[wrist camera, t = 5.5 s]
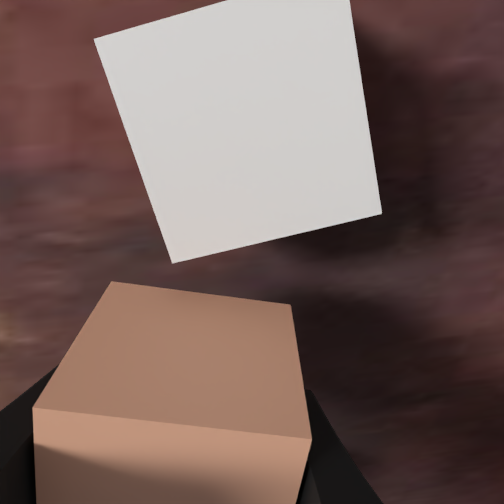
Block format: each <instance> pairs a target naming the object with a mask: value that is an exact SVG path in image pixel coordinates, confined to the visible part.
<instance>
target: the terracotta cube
mask: <svg viewBox="0 0 504 504" xmlns="http://www.w3.org/2000/svg"><path fill="white" fill-rule="evenodd" d="M32 409H33V433H34V457H35V480H36V504H296V500H297V496H298V492H299V488H300V484H301V480H302V477H303V473H304V469H305V465H306V461H307V457H308V453H309V449H310V445H311V442H312V436H311V430H310V423H309V417H308V411H307V404H306V398H305V392H304V386H303V379H302V373H301V367H300V361H299V354H298V348H297V342H296V335H295V329H294V323H293V317H292V310H291V305H289V304H281V303H273V302H266V301H258V300H250V299H243V298H235V297H227V296H220V295H212V294H204V293H196V292H189V291H181V290H173V289H166V288H158V287H150V286H143V285H135V284H127V283H120V282H112V281H111V283H110V284H109V286H108V288H107V289H106V291H105V292H104V294H103V296H102V297H101V299H100V300H99V302H98V304H97V305H96V307H95V308H94V310H93V312H92V313H91V315H90V316H89V318H88V320H87V321H86V323H85V324H84V326H83V328H82V329H81V331H80V332H79V334H78V336H77V337H76V339H75V340H74V342H73V344H72V345H71V347H70V348H69V350H68V352H67V353H66V355H65V356H64V358H63V360H62V361H61V363H60V364H59V366H58V368H57V369H56V371H55V372H54V374H53V376H52V377H51V379H50V380H49V382H48V384H47V385H46V387H45V388H44V390H43V392H42V393H41V395H40V396H39V398H38V400H37V401H36V403H35V404H34V406H33V408H32Z"/></svg>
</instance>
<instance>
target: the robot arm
mask: <svg viewBox="0 0 504 504" xmlns="http://www.w3.org/2000/svg"><path fill="white" fill-rule="evenodd" d="M58 366H59V365H58ZM58 366H56V367H55V368H54V369H53V370H51V371H50V372H49V373H48V374H46V375H45V376H44V377H43V378H42V379H40V380H39V381H38V382H37V383H35V384H34V385H33V386H32V387H30V388H29V389H28V390H27V391H25V392H24V393H23V394H22V395H20V396H19V397H18V398H17V399H15V400H14V401H13V402H11V403H10V404H9V405H8V406H6V407H5V408H4V409H2V410H1V411H0V504H36V480H35V457H34V433H33V409H32V408H33V406H34V404H35V403H36V401H37V400H38V398H39V396H40V395H41V393H42V392H43V390H44V388H45V387H46V385H47V384H48V382H49V380H50V379H51V377H52V376H53V374H54V372H55V371H56V369H57V368H58ZM304 392H305V398H306V404H307V411H308V417H309V423H310V430H311V436H312V442H311V445H310V449H309V453H308V457H307V461H306V465H305V469H304V473H303V477H302V480H301V484H300V488H299V492H298V496H297V500H296V504H383V503H382V501H381V500H380V499H379V497H378V496H377V494H376V493H375V492H374V490H373V489H372V488H371V486H370V485H369V483H368V482H367V481H366V479H365V478H364V476H363V475H362V473H361V472H360V470H359V469H358V468H357V466H356V464H355V463H354V461H353V460H352V458H351V457H350V455H349V454H348V452H347V451H346V449H345V447H344V446H343V444H342V443H341V441H340V439H339V438H338V436H337V435H336V433H335V431H334V429H333V428H332V426H331V424H330V423H329V421H328V419H327V417H326V416H325V414H324V412H323V410H322V409H321V407H320V405H319V403H318V401H317V399H316V398H315V396H314V394H313V393H312V392H311V390H304Z"/></svg>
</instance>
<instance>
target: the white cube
mask: <svg viewBox="0 0 504 504" xmlns="http://www.w3.org/2000/svg"><path fill="white" fill-rule="evenodd" d="M94 42H95V45H96V47H97V50H98V53H99V56H100V59H101V62H102V64H103V67H104V70H105V73H106V76H107V79H108V82H109V84H110V87H111V90H112V93H113V96H114V99H115V101H116V104H117V107H118V110H119V113H120V116H121V119H122V121H123V124H124V127H125V130H126V133H127V136H128V138H129V141H130V144H131V147H132V150H133V153H134V156H135V158H136V161H137V164H138V167H139V170H140V173H141V175H142V178H143V181H144V184H145V187H146V190H147V193H148V195H149V198H150V201H151V204H152V207H153V210H154V212H155V215H156V218H157V221H158V224H159V227H160V230H161V232H162V235H163V238H164V241H165V244H166V247H167V249H168V252H169V255H170V258H171V261H172V263H176V262H180V261H185V260H189V259H193V258H197V257H202V256H206V255H210V254H214V253H218V252H223V251H227V250H231V249H235V248H240V247H244V246H248V245H252V244H257V243H261V242H265V241H269V240H273V239H278V238H282V237H286V236H290V235H295V234H299V233H303V232H307V231H312V230H316V229H320V228H324V227H328V226H333V225H337V224H341V223H345V222H350V221H354V220H358V219H362V218H367V217H371V216H375V215H379V214H382V210H381V203H380V197H379V190H378V184H377V177H376V171H375V164H374V158H373V151H372V145H371V138H370V132H369V125H368V119H367V112H366V106H365V99H364V93H363V86H362V80H361V73H360V67H359V60H358V54H357V47H356V41H355V34H354V28H353V21H352V15H351V9H350V2H349V0H227V1H223V2H220V3H216V4H213V5H210V6H206V7H203V8H199V9H196V10H192V11H189V12H185V13H182V14H179V15H175V16H172V17H168V18H165V19H161V20H158V21H154V22H151V23H147V24H144V25H141V26H137V27H134V28H130V29H127V30H123V31H120V32H116V33H113V34H110V35H106V36H103V37H99V38H96V39H94Z"/></svg>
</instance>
